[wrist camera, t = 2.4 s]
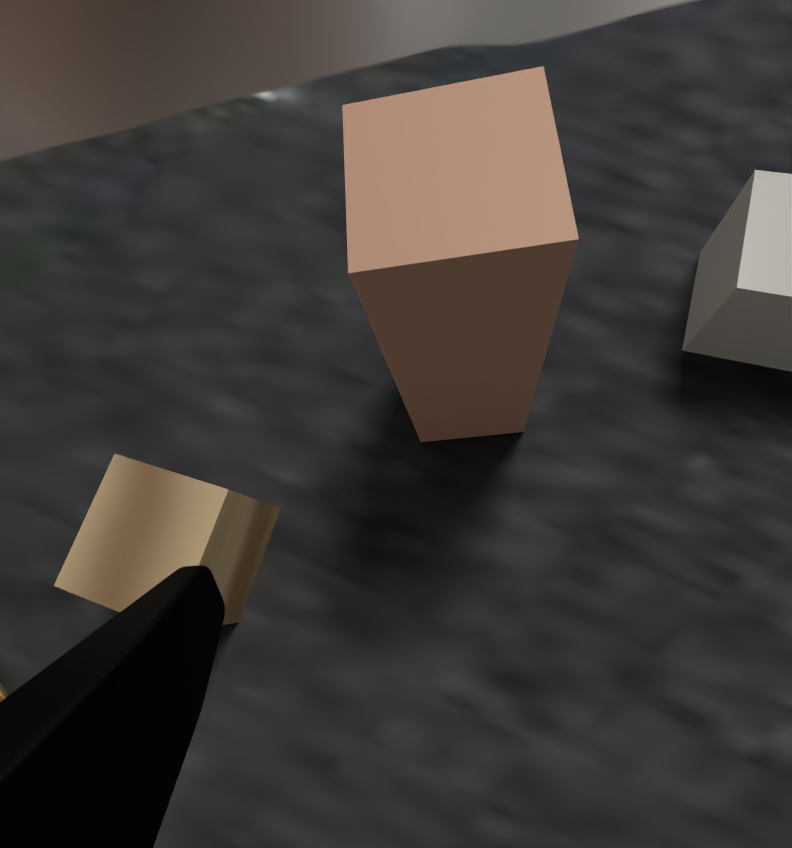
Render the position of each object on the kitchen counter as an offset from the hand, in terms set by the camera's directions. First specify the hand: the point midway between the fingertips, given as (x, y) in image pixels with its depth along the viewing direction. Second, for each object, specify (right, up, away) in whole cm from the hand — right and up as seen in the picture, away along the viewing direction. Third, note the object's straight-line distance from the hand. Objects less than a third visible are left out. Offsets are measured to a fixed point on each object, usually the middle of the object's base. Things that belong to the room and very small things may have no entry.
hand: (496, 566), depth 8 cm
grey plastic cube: (+14, +7, +14) cm, 21 cm away
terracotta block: (+2, +4, +15) cm, 16 cm away
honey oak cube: (-10, -3, +15) cm, 18 cm away
